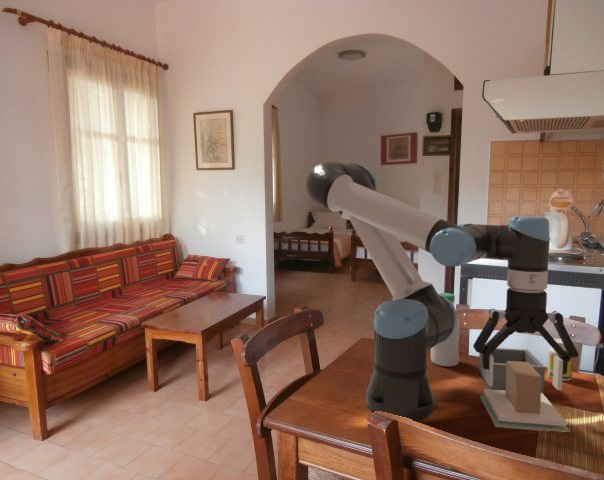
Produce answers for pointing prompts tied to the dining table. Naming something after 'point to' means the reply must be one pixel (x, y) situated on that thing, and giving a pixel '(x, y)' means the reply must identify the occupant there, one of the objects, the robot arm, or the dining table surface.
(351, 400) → the dining table surface
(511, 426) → the mat
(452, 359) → the milk bottle
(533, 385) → the lid
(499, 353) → the box
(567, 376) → the supplement bottle
